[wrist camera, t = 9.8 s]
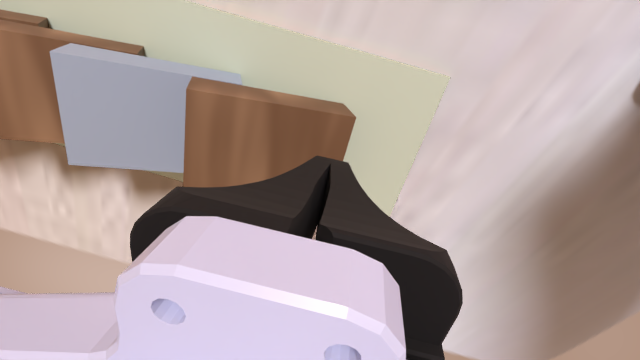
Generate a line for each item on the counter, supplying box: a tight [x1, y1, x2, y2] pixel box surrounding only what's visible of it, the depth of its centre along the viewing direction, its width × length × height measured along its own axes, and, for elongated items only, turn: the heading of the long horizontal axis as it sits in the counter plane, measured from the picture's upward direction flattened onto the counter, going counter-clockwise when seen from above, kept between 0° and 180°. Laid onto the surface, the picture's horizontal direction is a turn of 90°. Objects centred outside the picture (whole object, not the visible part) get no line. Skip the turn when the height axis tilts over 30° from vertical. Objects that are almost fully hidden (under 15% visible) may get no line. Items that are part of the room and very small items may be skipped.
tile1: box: [183, 76, 356, 187], centre depth 13 cm, size 2×4×6 cm
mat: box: [0, 0, 451, 216], centre depth 15 cm, size 25×9×1 cm, turn 76°
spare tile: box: [50, 43, 242, 173], centre depth 13 cm, size 2×4×6 cm
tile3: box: [0, 20, 144, 144], centre depth 13 cm, size 2×4×6 cm
